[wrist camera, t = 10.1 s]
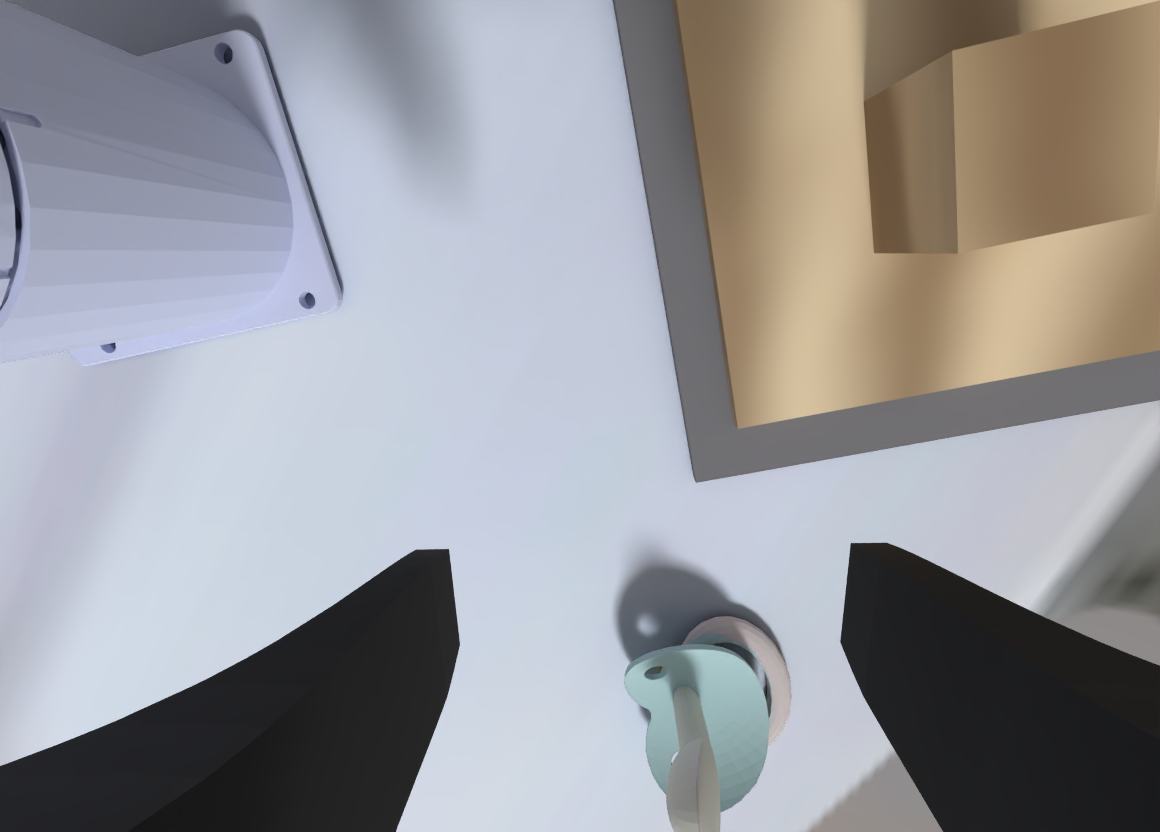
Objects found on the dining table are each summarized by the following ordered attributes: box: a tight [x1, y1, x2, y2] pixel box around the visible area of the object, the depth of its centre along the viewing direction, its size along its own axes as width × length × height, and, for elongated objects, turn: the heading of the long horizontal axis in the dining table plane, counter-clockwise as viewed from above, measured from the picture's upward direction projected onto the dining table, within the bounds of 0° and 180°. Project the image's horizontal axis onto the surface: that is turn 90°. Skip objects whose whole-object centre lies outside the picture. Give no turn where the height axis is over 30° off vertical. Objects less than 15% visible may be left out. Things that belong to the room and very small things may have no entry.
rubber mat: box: [613, 0, 1160, 483], centre depth 16 cm, size 16×16×1 cm
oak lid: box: [672, 0, 1160, 429], centre depth 14 cm, size 13×13×5 cm
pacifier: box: [624, 616, 791, 832], centre depth 19 cm, size 7×6×6 cm
